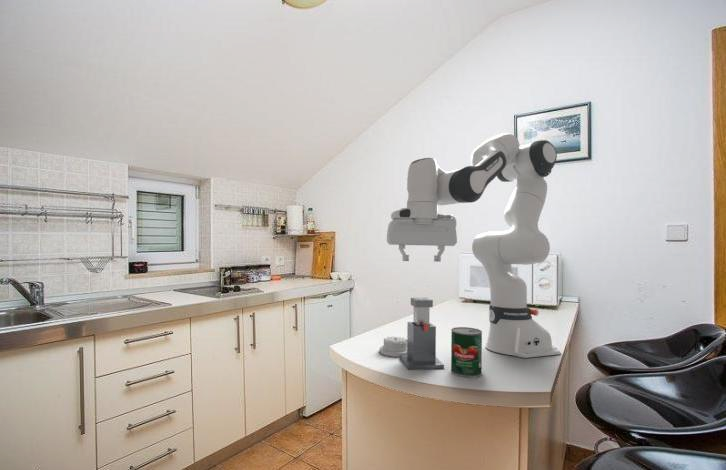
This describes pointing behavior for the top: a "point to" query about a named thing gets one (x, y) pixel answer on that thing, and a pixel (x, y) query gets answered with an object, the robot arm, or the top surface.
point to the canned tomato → (466, 352)
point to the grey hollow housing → (421, 347)
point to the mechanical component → (394, 346)
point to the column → (421, 310)
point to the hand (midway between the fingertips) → (421, 261)
